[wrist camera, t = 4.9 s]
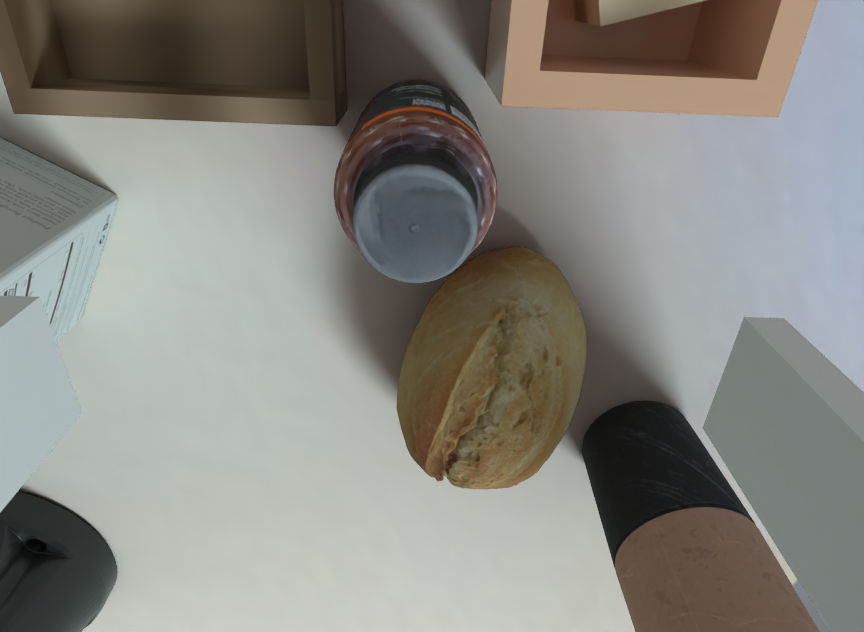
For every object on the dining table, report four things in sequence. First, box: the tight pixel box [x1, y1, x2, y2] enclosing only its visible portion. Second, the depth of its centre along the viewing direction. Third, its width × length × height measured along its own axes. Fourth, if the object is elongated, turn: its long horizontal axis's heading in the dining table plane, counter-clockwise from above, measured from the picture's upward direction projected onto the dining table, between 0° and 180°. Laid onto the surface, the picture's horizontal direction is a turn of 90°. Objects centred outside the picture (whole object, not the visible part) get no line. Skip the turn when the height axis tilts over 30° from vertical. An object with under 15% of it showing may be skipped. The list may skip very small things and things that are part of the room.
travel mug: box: [583, 401, 820, 632], centre depth 28 cm, size 8×8×20 cm
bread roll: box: [397, 245, 587, 489], centre depth 30 cm, size 10×15×8 cm, turn 171°
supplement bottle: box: [334, 80, 497, 283], centre depth 22 cm, size 6×6×11 cm
